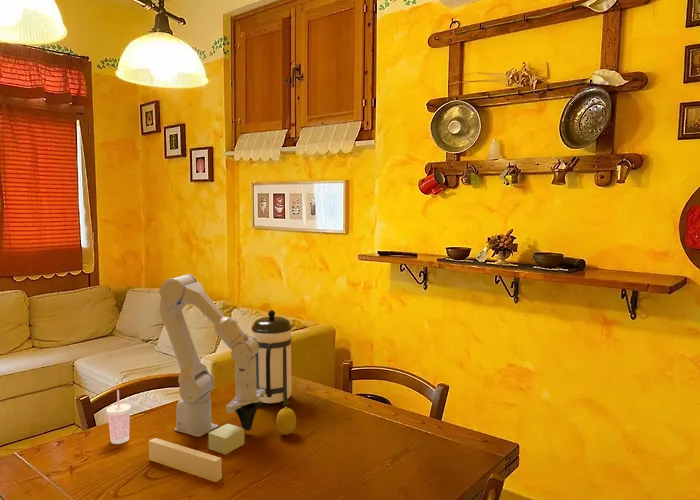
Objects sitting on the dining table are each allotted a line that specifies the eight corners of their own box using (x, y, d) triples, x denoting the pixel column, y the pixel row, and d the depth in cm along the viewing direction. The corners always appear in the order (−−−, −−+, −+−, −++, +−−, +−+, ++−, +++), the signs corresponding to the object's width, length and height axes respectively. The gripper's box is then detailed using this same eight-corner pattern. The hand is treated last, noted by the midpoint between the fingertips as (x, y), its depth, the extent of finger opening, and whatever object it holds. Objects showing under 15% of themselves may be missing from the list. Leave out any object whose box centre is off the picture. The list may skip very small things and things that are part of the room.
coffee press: (237, 401, 171) (235, 310, 168) (278, 389, 182) (277, 303, 179) (268, 418, 159) (266, 319, 156) (310, 404, 169) (309, 311, 166)
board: (149, 460, 133) (148, 440, 133) (155, 456, 135) (155, 437, 135) (215, 482, 123) (215, 461, 122) (221, 478, 125) (221, 457, 124)
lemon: (299, 432, 149) (299, 404, 148) (291, 440, 144) (290, 412, 143) (281, 429, 151) (281, 402, 150) (272, 437, 146) (272, 409, 145)
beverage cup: (105, 446, 141) (102, 395, 139) (110, 436, 147) (108, 386, 145) (129, 443, 142) (127, 393, 141) (134, 434, 148) (132, 385, 147)
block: (208, 449, 139) (208, 432, 139) (228, 439, 145) (227, 423, 145) (225, 455, 136) (225, 438, 136) (244, 444, 142) (244, 428, 142)
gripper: (240, 392, 138) (241, 442, 140) (273, 376, 151) (274, 422, 152) (219, 388, 142) (220, 437, 143) (253, 372, 154) (254, 417, 156)
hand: (246, 429), depth 148 cm, fingers closed
